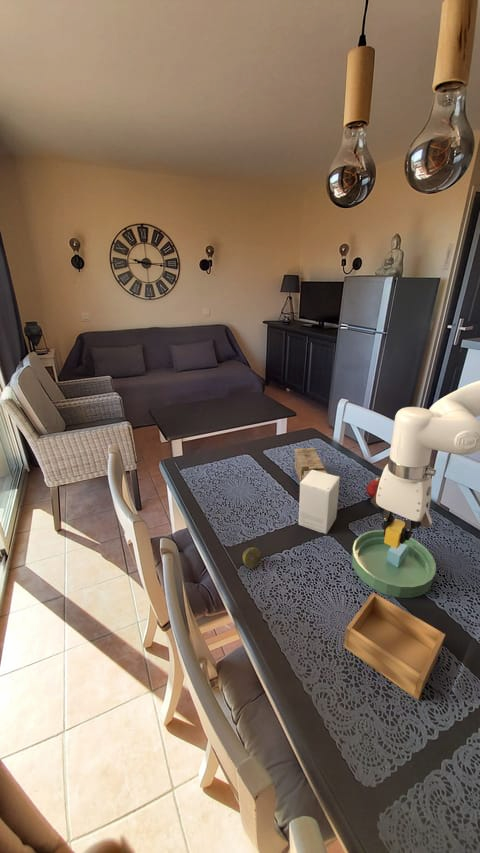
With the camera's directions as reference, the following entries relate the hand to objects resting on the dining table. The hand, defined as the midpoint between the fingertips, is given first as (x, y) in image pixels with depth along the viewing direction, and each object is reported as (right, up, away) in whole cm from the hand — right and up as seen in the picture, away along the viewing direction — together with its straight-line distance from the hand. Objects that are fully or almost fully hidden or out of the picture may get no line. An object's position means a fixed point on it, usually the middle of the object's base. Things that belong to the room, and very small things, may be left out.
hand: (395, 536), depth 82 cm
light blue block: (+5, -10, +12) cm, 16 cm away
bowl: (+3, -11, +10) cm, 15 cm away
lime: (-32, -11, +12) cm, 36 cm away
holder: (-5, -20, -10) cm, 23 cm away
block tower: (-10, +3, +44) cm, 45 cm away
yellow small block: (0, -1, 0) cm, 1 cm away
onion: (+9, +1, +36) cm, 38 cm away
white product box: (-12, -4, +27) cm, 30 cm away
